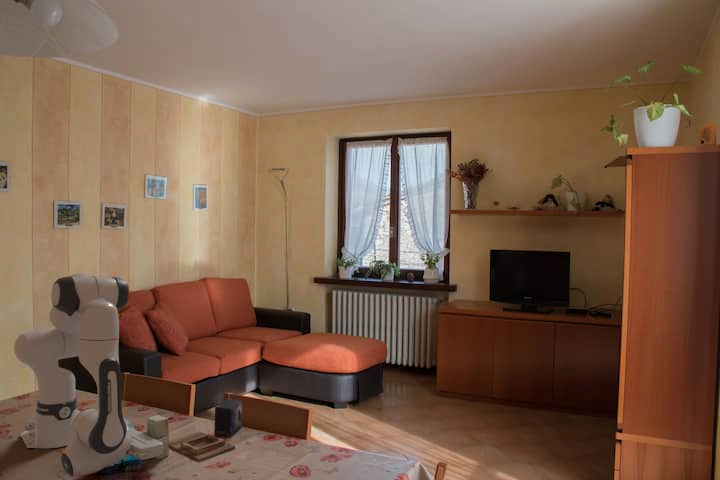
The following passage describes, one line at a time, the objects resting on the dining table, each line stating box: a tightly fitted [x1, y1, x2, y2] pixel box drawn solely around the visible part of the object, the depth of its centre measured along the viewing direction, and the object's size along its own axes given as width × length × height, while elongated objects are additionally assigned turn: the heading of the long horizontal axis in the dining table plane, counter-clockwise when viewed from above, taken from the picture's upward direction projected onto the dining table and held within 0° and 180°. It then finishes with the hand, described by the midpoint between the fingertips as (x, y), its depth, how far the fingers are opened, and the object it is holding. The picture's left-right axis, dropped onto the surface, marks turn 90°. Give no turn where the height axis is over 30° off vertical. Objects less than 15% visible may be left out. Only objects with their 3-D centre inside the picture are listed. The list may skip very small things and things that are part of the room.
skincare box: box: [146, 414, 170, 460], centre depth 186 cm, size 6×4×12 cm
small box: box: [213, 398, 243, 438], centre depth 208 cm, size 11×6×10 cm, turn 168°
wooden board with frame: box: [169, 431, 236, 462], centre depth 194 cm, size 20×14×2 cm
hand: (160, 436), depth 187 cm, fingers closed on skincare box, 6 cm apart
